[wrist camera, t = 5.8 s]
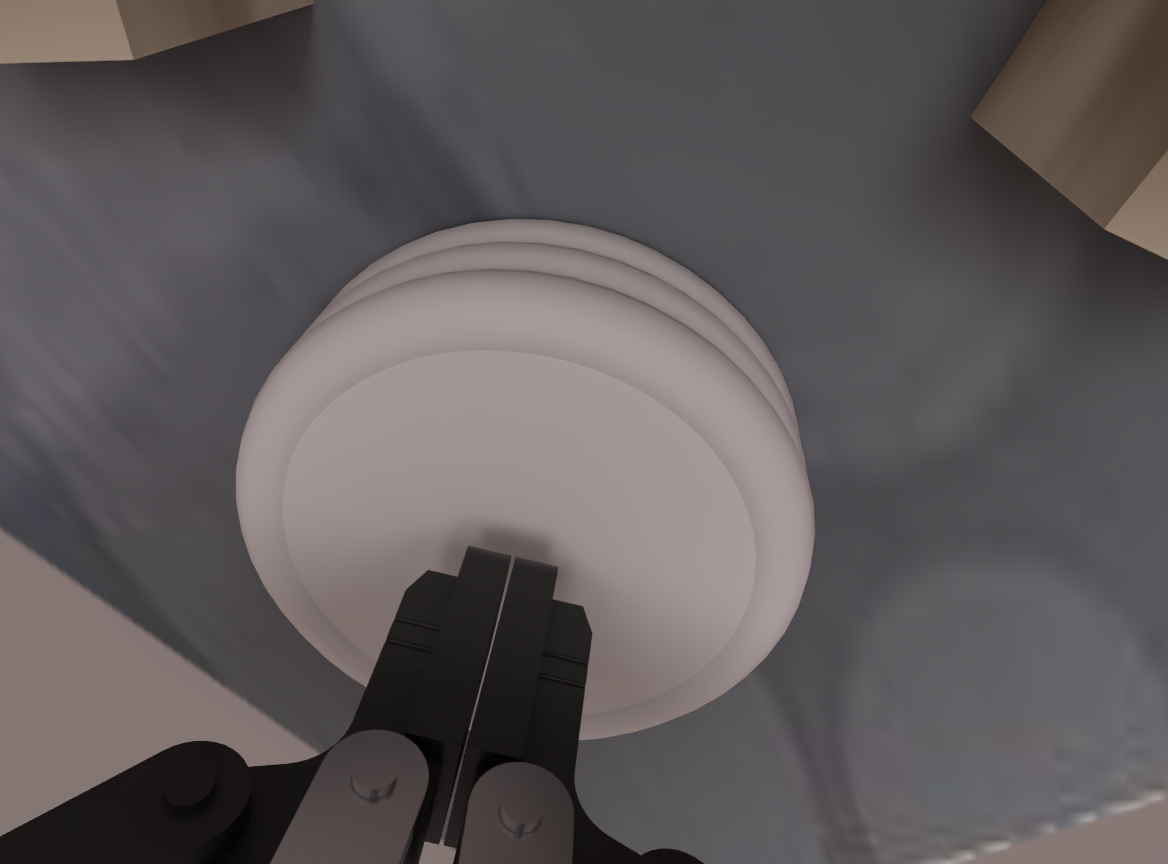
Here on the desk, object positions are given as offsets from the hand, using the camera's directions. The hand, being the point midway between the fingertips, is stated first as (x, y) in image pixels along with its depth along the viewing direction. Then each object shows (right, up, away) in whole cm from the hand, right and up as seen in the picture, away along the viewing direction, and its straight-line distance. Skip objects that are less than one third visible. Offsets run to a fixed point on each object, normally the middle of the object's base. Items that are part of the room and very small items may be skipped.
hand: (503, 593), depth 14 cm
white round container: (0, +2, +4) cm, 4 cm away
